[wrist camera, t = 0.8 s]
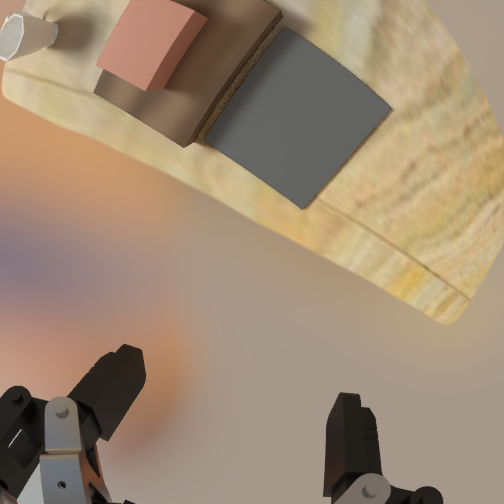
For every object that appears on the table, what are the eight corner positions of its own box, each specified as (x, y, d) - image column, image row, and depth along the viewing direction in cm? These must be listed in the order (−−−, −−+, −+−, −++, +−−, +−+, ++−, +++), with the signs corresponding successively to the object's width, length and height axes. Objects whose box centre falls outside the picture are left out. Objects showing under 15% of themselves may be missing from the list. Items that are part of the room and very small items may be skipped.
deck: (107, 90, 30) (93, 92, 27) (179, -31, 20) (169, -38, 18) (193, 142, 32) (183, 148, 30) (282, 16, 23) (280, 9, 20)
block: (117, 63, 25) (95, 64, 22) (156, -4, 20) (138, -12, 17) (163, 88, 26) (145, 91, 23) (208, 18, 22) (194, 10, 18)
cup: (45, 65, 28) (5, 72, 21) (24, 30, 24) (-13, 33, 17) (71, 29, 25) (30, 29, 18) (49, -4, 21) (10, -6, 14)
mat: (204, 140, 32) (203, 140, 32) (285, 27, 24) (285, 26, 23) (302, 208, 35) (302, 209, 34) (390, 107, 26) (391, 107, 26)
